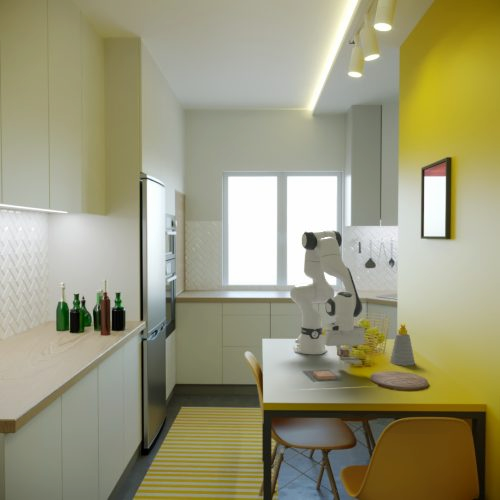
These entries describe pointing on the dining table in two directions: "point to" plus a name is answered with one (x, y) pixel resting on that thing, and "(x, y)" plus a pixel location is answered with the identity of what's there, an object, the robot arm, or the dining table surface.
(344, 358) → the turner
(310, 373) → the mat
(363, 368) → the dining table surface
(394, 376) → the trivet
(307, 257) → the robot arm
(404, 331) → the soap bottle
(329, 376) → the tile
